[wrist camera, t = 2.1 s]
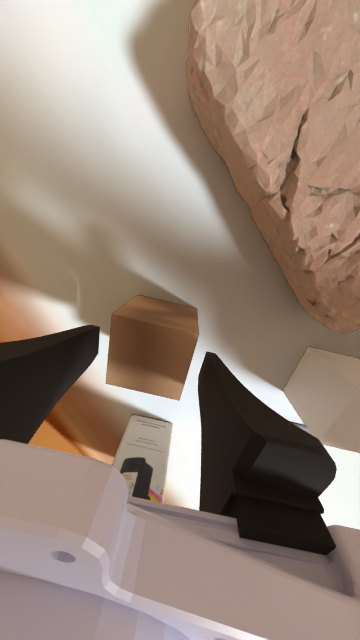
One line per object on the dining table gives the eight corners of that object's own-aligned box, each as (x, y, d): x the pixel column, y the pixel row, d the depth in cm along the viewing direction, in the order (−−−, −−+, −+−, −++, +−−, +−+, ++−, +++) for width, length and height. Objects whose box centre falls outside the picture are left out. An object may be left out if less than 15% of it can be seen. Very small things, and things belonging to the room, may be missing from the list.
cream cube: (362, 359, 15) (440, 406, 10) (332, 401, 17) (385, 458, 12) (307, 346, 15) (359, 387, 10) (282, 390, 17) (316, 443, 12)
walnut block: (197, 308, 14) (199, 334, 10) (183, 358, 16) (179, 400, 12) (138, 294, 14) (111, 313, 10) (130, 346, 16) (105, 383, 11)
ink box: (161, 469, 22) (130, 681, 11) (123, 461, 22) (55, 666, 11) (174, 422, 19) (149, 650, 8) (130, 412, 19) (45, 630, 8)
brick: (179, 99, 10) (169, -15, 6) (324, -60, 8) (484, -436, 4) (299, 316, 14) (345, 343, 10) (416, 250, 12) (542, 250, 8)
